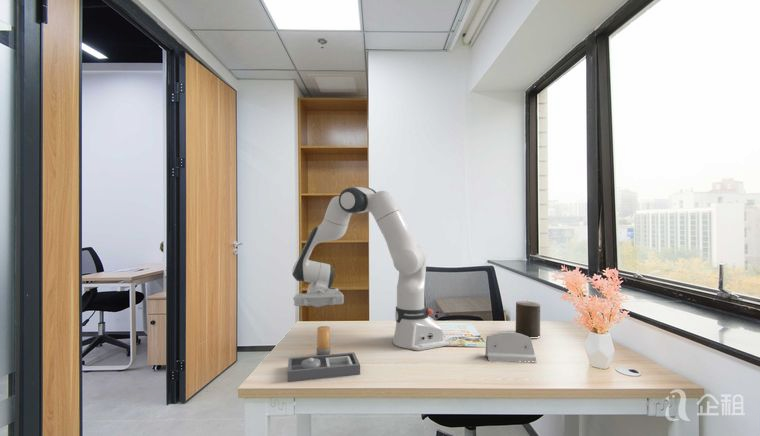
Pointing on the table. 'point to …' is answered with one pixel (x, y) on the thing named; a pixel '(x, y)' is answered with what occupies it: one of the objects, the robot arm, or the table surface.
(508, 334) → the hinge
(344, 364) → the dark grey sorting tray
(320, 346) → the wooden handle stamp
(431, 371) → the table surface
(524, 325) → the pillar candle
